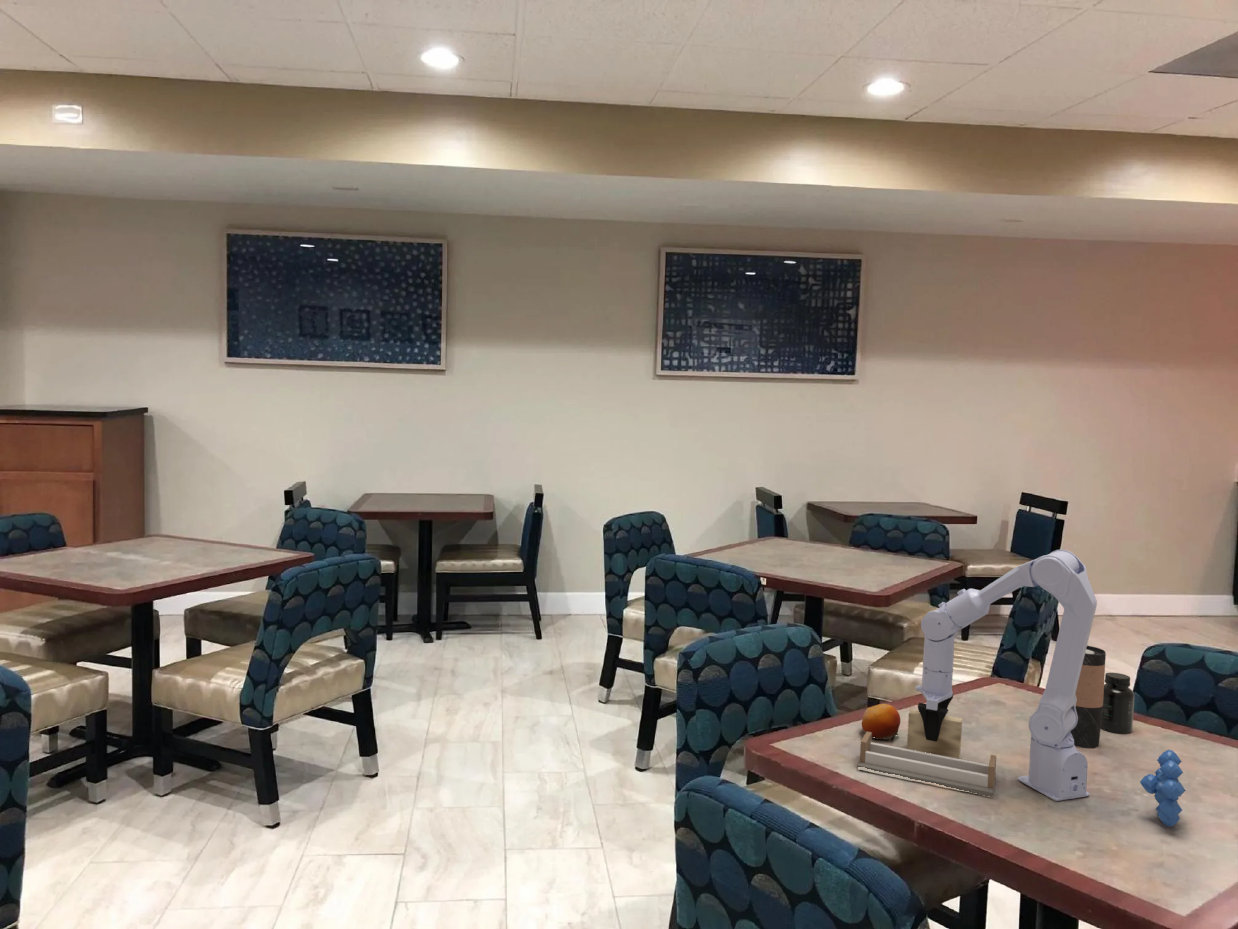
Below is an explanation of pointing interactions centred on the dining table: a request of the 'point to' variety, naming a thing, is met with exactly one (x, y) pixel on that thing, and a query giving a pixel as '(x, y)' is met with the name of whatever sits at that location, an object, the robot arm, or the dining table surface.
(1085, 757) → the robot arm
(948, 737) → the door panel
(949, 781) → the track board
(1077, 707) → the travel mug
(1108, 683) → the supplement bottle
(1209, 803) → the dining table surface
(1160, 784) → the grapes
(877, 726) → the fruit
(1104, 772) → the dining table surface
